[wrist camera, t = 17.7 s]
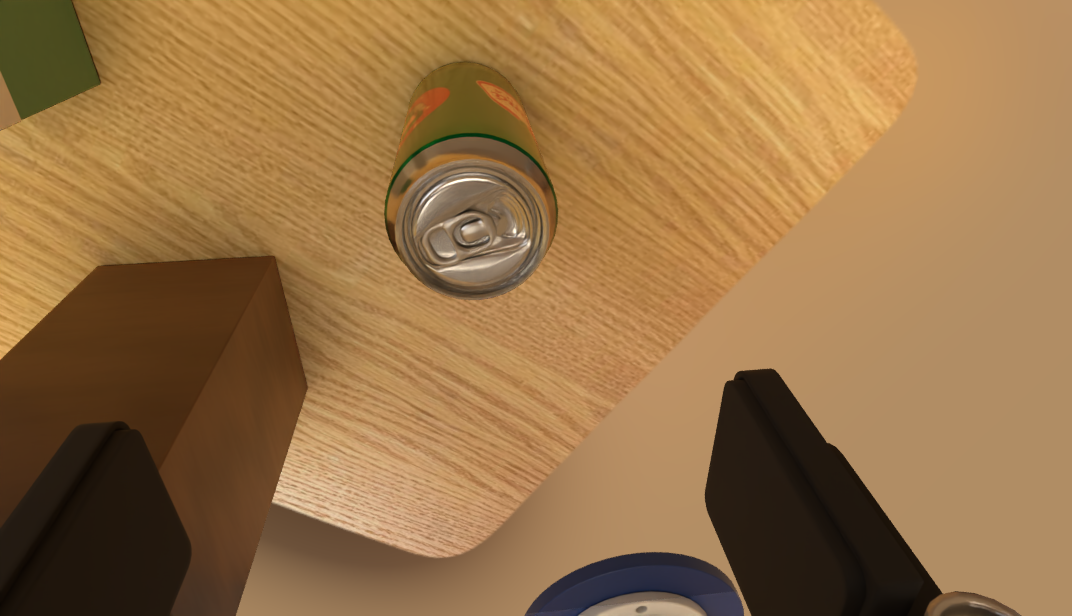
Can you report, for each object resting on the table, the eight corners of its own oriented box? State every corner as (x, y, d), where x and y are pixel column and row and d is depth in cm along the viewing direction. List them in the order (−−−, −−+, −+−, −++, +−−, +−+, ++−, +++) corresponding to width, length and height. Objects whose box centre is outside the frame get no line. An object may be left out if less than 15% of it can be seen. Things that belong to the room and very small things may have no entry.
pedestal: (308, 388, 34) (211, 693, 21) (153, 400, 34) (-51, 723, 20) (274, 255, 30) (127, 527, 17) (97, 265, 30) (-208, 558, 16)
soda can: (540, 150, 29) (587, 274, 19) (439, 192, 30) (431, 335, 19) (497, 39, 26) (524, 114, 16) (386, 87, 27) (345, 189, 17)
